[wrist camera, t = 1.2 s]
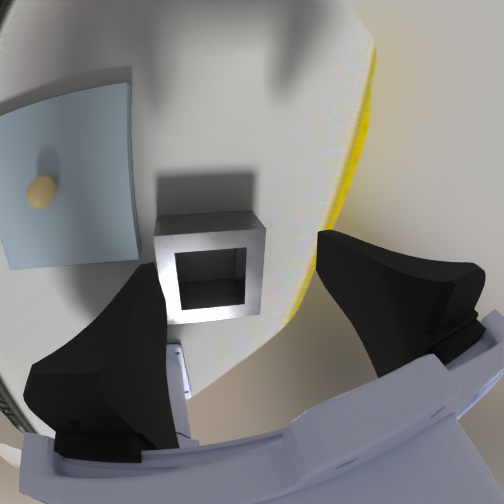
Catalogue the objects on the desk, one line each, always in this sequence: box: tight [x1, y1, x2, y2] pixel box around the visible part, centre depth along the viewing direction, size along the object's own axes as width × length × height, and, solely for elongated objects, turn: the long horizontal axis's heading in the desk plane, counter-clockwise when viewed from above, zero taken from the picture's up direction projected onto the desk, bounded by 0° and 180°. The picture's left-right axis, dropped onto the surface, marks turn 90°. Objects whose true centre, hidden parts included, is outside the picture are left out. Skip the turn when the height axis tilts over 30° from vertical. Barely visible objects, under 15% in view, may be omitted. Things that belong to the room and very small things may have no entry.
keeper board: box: [0, 82, 141, 270], centre depth 13 cm, size 12×12×4 cm
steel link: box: [153, 211, 266, 325], centre depth 19 cm, size 7×7×4 cm
